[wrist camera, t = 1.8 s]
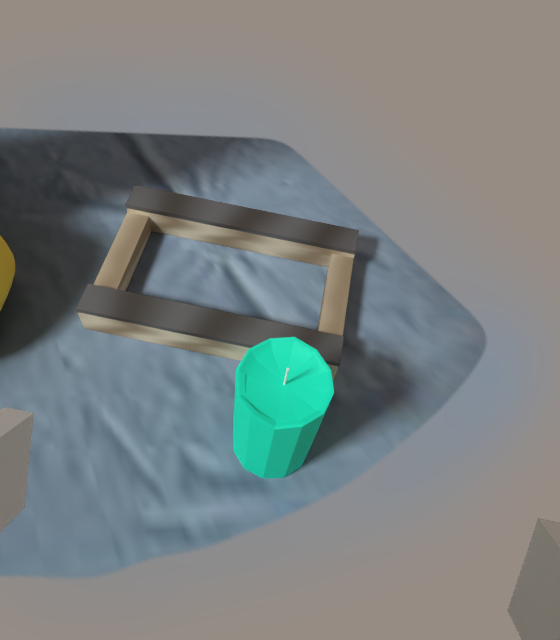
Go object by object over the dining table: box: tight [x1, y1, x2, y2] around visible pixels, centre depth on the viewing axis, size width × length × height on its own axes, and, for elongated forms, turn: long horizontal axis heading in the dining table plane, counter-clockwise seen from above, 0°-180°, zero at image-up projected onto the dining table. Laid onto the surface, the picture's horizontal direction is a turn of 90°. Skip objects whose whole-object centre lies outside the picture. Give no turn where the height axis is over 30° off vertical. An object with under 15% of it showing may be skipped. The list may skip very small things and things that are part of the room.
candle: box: [233, 337, 334, 478], centre depth 35 cm, size 6×6×12 cm
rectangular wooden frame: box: [76, 185, 359, 380], centre depth 46 cm, size 21×14×3 cm, turn 79°
